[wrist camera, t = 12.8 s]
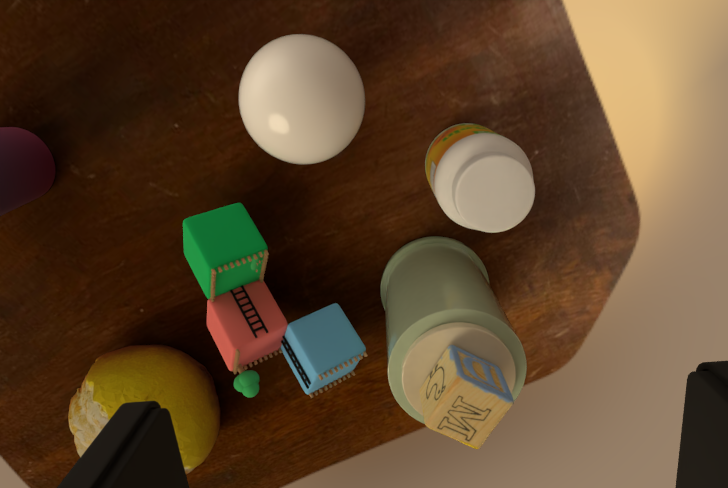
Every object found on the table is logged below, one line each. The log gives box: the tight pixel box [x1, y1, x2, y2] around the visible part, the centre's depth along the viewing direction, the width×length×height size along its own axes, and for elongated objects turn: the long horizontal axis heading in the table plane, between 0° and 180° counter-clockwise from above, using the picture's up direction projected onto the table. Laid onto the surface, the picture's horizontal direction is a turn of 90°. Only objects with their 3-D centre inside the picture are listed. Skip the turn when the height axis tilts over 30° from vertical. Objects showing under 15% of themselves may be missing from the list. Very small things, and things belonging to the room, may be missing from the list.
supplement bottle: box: [425, 123, 535, 233], centre depth 31 cm, size 5×5×10 cm
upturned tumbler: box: [380, 236, 527, 424], centre depth 32 cm, size 8×8×12 cm
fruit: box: [68, 345, 221, 474], centre depth 39 cm, size 11×10×8 cm
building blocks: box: [183, 203, 368, 398], centre depth 35 cm, size 8×8×12 cm
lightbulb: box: [239, 34, 365, 164], centre depth 29 cm, size 6×6×11 cm
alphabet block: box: [420, 345, 514, 449], centre depth 25 cm, size 3×3×3 cm
